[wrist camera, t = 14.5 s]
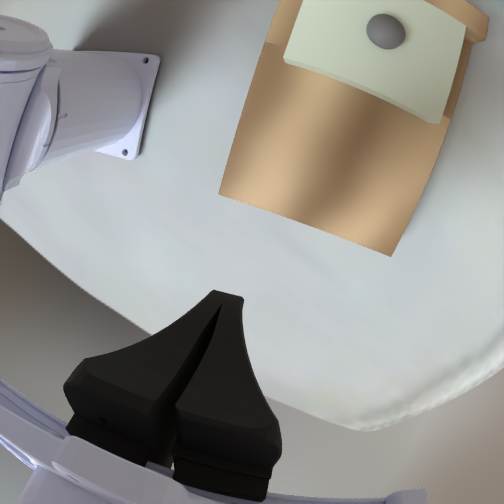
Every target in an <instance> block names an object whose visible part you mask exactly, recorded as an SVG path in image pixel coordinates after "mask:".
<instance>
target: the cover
mask: <svg viewBox="0 0 504 504" xmlns="http://www.w3.org/2000/svg"><path fill="white" fill-rule="evenodd" d="M465 30H466V26H465V25H464V24H463V23H461V22H459V21H458V20H456V19H455V18H453V17H452V16H450V15H448V14H447V13H445V12H444V11H442V10H440V9H438V8H437V7H435V6H433V5H431V4H430V3H428V2H426V1H424V0H303V2H302V5H301V8H300V10H299V13H298V16H297V19H296V22H295V25H294V27H293V30H292V33H291V36H290V39H289V42H288V45H287V47H286V50H285V53H284V56H283V58H284V61H285V63H287V64H291V65H294V66H297V67H301V68H304V69H307V70H310V71H313V72H316V73H319V74H321V75H324V76H327V77H330V78H332V79H335V80H338V81H340V82H343V83H345V84H348V85H350V86H353V87H355V88H358V89H360V90H362V91H365V92H367V93H369V94H372V95H374V96H376V97H378V98H380V99H383V100H385V101H387V102H389V103H391V104H393V105H395V106H397V107H399V108H401V109H403V110H405V111H407V112H409V113H411V114H413V115H415V116H416V117H418V118H420V119H422V120H424V121H426V122H428V123H435V124H440V121H441V118H442V115H443V112H444V109H445V106H446V103H447V100H448V96H449V93H450V90H451V86H452V83H453V79H454V76H455V72H456V69H457V65H458V61H459V57H460V53H461V49H462V44H463V40H464V35H465Z"/></svg>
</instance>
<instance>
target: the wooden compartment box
mask: <svg viewBox="0 0 504 504" xmlns="http://www.w3.org/2000/svg"><path fill="white" fill-rule="evenodd" d="M424 1H426V2H428V3H430V4H431V5H433V6H435V7H437V8H438V9H440V10H442V11H444V12H445V13H447V14H448V15H450V16H452V17H453V18H455V19H456V20H458V21H459V22H461V23H463V24H464V25H465V26H466V30H465V35H464V40H463V44H462V49H461V53H460V57H459V61H458V65H457V69H456V72H455V76H454V79H453V83H452V86H451V90H450V93H449V96H448V100H447V103H446V106H445V109H444V112H443V115H442V118H441V121H440V124H435V123H428V122H426V121H424V120H422V119H420V118H418V117H416V116H415V115H413V114H411V113H409V112H407V111H405V110H403V109H401V108H399V107H397V106H395V105H393V104H391V103H389V102H387V101H385V100H383V99H380V98H378V97H376V96H374V95H372V94H369V93H367V92H365V91H362V90H360V89H358V88H355V87H353V86H350V85H348V84H345V83H343V82H340V81H338V80H335V79H332V78H330V77H327V76H324V75H321V74H319V73H316V72H313V71H310V70H307V69H304V68H301V67H297V66H294V65H291V64H287V63H285V61H284V58H283V56H284V53H285V50H286V47H287V45H288V42H289V39H290V36H291V33H292V30H293V27H294V25H295V22H296V19H297V16H298V13H299V10H300V8H301V5H302V2H303V0H280V1H279V4H278V7H277V10H276V12H275V15H274V18H273V21H272V23H271V26H270V29H269V32H268V35H267V37H266V40H265V43H264V46H263V49H262V52H261V55H260V58H259V61H258V64H257V67H256V70H255V73H254V76H253V79H252V82H251V85H250V88H249V91H248V95H247V98H246V101H245V104H244V107H243V111H242V114H241V117H240V120H239V124H238V127H237V130H236V134H235V137H234V140H233V144H232V147H231V151H230V154H229V158H228V161H227V165H226V168H225V172H224V175H223V179H222V183H221V186H220V190H219V195H222V196H225V197H228V198H231V199H234V200H237V201H240V202H243V203H246V204H249V205H252V206H255V207H258V208H261V209H264V210H267V211H270V212H273V213H275V214H278V215H281V216H284V217H287V218H290V219H292V220H295V221H298V222H301V223H303V224H306V225H309V226H312V227H314V228H317V229H320V230H323V231H325V232H328V233H331V234H333V235H336V236H339V237H341V238H344V239H346V240H349V241H352V242H354V243H357V244H359V245H362V246H365V247H367V248H370V249H372V250H375V251H377V252H380V253H382V254H385V255H387V256H390V257H391V256H392V254H393V252H394V250H395V248H396V246H397V245H398V243H399V241H400V239H401V237H402V235H403V233H404V231H405V229H406V227H407V225H408V223H409V221H410V218H411V216H412V214H413V212H414V210H415V208H416V206H417V204H418V201H419V199H420V197H421V195H422V192H423V190H424V188H425V186H426V183H427V181H428V179H429V176H430V174H431V171H432V169H433V167H434V164H435V162H436V159H437V157H438V154H439V151H440V149H441V146H442V143H443V141H444V138H445V135H446V132H447V130H448V127H449V124H450V121H451V118H452V115H453V112H454V109H455V106H456V102H457V99H458V96H459V92H460V89H461V85H462V82H463V78H464V74H465V71H466V67H467V63H468V59H469V54H470V50H471V45H472V44H474V43H477V42H481V41H484V40H485V39H486V34H487V28H488V21H489V17H488V16H487V15H485V14H484V13H483V12H481V11H480V10H478V9H477V8H476V7H474V6H473V5H471V4H470V3H468V2H467V1H465V0H424Z"/></svg>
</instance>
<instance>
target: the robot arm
mask: <svg viewBox="0 0 504 504" xmlns="http://www.w3.org/2000/svg"><path fill="white" fill-rule="evenodd" d="M147 58H149V61H148V63H147V64H146V63H145V60H146V59H147ZM159 64H160V58H159V57H158V56H156V55H152V54H142V53H129V52H111V51H70V50H59V49H53V46H52V44H51V42H50V40H49V37H48V34H47V33H46V32H45V31H44V30H43V29H41V28H39V27H38V26H36V25H34V24H31V23H29V22H26V21H23V20H20V19H17V18H13V17H9V16H3V15H0V205H1V202H2V197H3V192H4V191H6V190H8V189H10V188H12V187H15V186H17V185H19V182H20V180H21V178H22V176H23V175H24V174H26V173H27V172H30V171H33V170H36V169H38V168H41V167H44V166H46V165H49V164H52V163H55V162H58V161H61V160H64V159H67V158H70V157H73V156H76V155H79V154H83V153H86V152H89V151H97V152H101V153H105V154H108V155H112V156H116V157H120V158H123V159H127V160H134V159H136V158H137V157H138V154H139V149H140V143H141V138H142V133H143V128H144V124H145V119H146V115H147V110H148V106H149V102H150V98H151V94H152V90H153V86H154V82H155V78H156V75H157V71H158V67H159ZM125 150H127V151H128V154H127V155H126V153H125ZM243 304H244V299H243V297H240V296H236V295H232V294H228V293H224V292H220V291H216V290H213V291H211V292H210V293H209V294H208V295H207V296H206V297H205V298H204V299H202V300H201V301H200V302H199V303H198V304H197V305H196V306H194V307H193V308H192V309H191V310H190V311H188V312H187V313H186V314H185V315H183V316H182V317H181V318H179V319H178V320H176V321H175V322H173V323H172V324H171V325H169V326H168V327H166V328H164V329H163V330H161V331H159V332H158V333H156V334H154V335H152V336H150V337H148V338H146V339H144V340H142V341H140V342H138V343H136V344H133V345H131V346H128V347H126V348H123V349H120V350H118V351H114V352H111V353H107V354H103V355H99V356H95V357H91V358H85V359H84V360H83V361H82V362H81V363H80V364H79V365H78V366H77V367H76V369H75V370H74V371H73V372H72V374H71V375H70V377H69V378H68V379H67V381H66V382H65V383H64V386H63V390H64V393H65V396H66V398H67V400H68V402H69V404H70V406H71V407H72V409H73V411H74V413H75V414H74V415H73V417H72V419H71V420H70V422H69V423H67V422H65V421H63V420H61V419H60V418H58V417H57V416H55V415H53V414H52V413H50V412H48V411H47V410H45V409H44V408H42V407H41V406H39V405H37V404H36V403H34V402H33V401H31V400H30V399H29V398H27V397H26V396H24V395H23V394H21V393H20V392H19V391H17V390H16V389H15V388H13V387H12V386H11V385H9V384H8V383H7V382H5V381H4V380H3V379H1V378H0V443H1V444H2V445H3V446H4V447H5V448H6V449H8V450H9V451H10V452H11V453H12V454H14V455H15V456H16V457H17V458H19V459H20V460H21V461H22V462H24V463H25V464H26V465H28V466H29V467H30V468H32V469H33V470H34V472H33V474H32V476H31V478H30V480H29V481H28V483H27V485H26V487H25V489H24V490H23V492H22V494H21V496H20V498H19V500H18V502H17V504H428V501H427V491H426V488H424V487H422V488H414V489H404V490H399V491H396V492H393V493H391V494H390V495H388V496H387V497H383V498H360V499H359V498H354V499H346V498H345V499H344V498H343V499H342V498H341V499H340V498H317V497H316V498H315V497H303V496H293V495H284V494H276V493H269V492H267V489H268V484H269V479H271V475H272V469H273V467H274V465H275V464H276V463H277V461H278V460H279V459H280V457H281V454H282V439H281V432H280V427H279V422H278V419H277V418H276V416H275V415H274V413H273V412H272V410H271V409H270V407H269V405H268V403H267V401H266V399H265V397H264V395H263V393H262V391H261V389H260V387H259V384H258V382H257V380H256V377H255V375H254V372H253V369H252V366H251V363H250V360H249V356H248V353H247V348H246V343H245V338H244V331H243V322H242V309H243ZM172 463H174V470H172V469H171V467H172Z"/></svg>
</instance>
